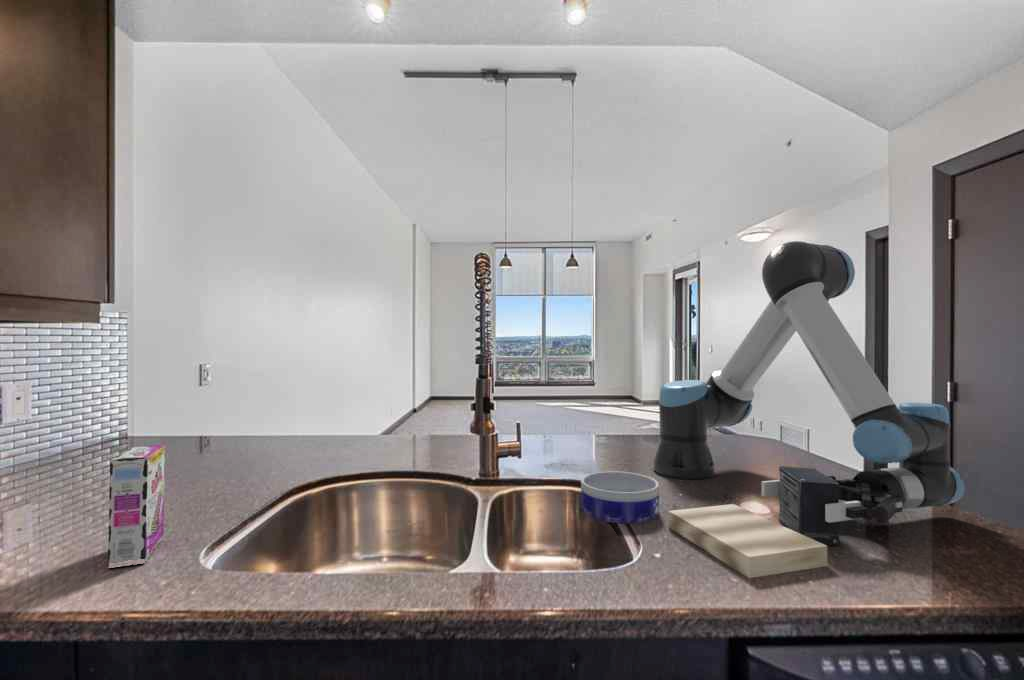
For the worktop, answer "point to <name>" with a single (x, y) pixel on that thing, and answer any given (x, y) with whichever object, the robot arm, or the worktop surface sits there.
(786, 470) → the small box
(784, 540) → the maple board
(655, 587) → the worktop surface
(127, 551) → the candy bar box
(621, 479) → the dog bowl
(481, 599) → the worktop surface
